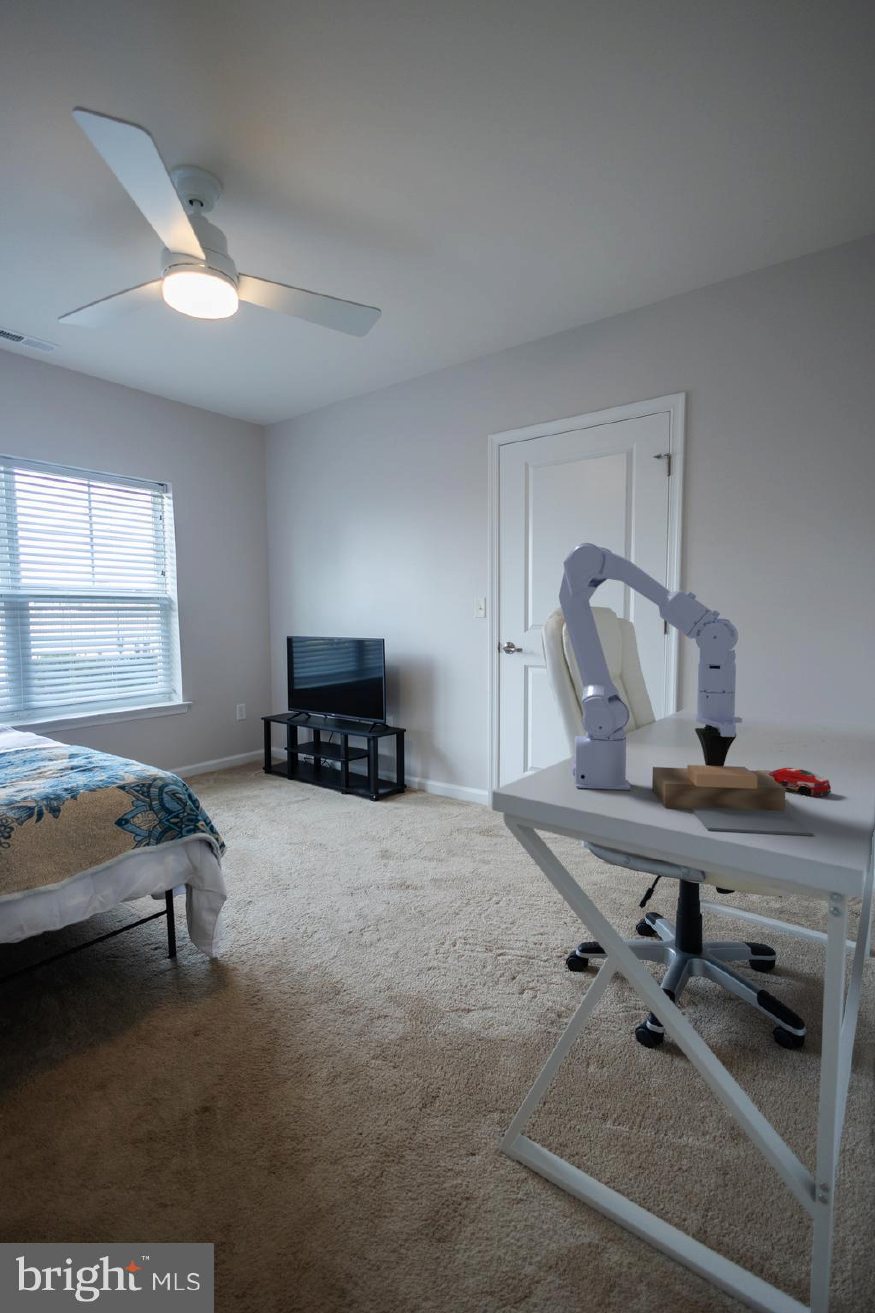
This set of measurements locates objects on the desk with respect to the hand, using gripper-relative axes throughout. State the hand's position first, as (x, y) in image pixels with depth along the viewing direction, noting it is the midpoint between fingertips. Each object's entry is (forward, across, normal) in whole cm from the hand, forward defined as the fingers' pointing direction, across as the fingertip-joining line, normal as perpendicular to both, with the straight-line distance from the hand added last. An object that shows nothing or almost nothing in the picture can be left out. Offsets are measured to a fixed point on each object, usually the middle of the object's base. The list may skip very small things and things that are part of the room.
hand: (714, 771), depth 103 cm
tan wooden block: (+1, -4, 0) cm, 4 cm away
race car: (+5, +9, -15) cm, 18 cm away
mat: (+5, -11, -2) cm, 12 cm away
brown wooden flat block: (+5, 0, 0) cm, 5 cm away
